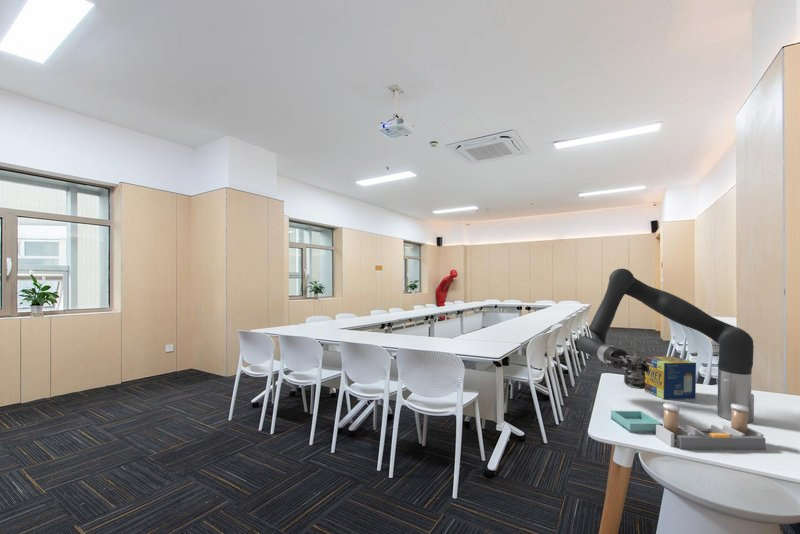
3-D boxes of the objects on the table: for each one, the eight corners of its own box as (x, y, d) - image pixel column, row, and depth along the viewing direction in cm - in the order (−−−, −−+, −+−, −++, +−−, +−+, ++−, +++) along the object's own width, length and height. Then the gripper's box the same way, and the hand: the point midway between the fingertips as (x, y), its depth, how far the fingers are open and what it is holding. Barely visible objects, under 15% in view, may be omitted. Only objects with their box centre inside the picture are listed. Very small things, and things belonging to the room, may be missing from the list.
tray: (640, 419, 134) (640, 410, 134) (662, 432, 123) (662, 423, 123) (610, 418, 134) (610, 410, 134) (629, 432, 123) (630, 423, 123)
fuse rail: (732, 432, 124) (732, 419, 124) (768, 449, 112) (768, 435, 112) (647, 431, 124) (647, 418, 124) (674, 449, 112) (674, 435, 112)
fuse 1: (672, 436, 120) (672, 403, 120) (682, 443, 116) (682, 408, 116) (659, 436, 120) (660, 403, 120) (669, 442, 116) (669, 408, 116)
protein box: (644, 391, 164) (644, 356, 164) (675, 390, 166) (675, 356, 166) (663, 399, 154) (663, 362, 154) (696, 398, 156) (697, 362, 156)
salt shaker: (646, 390, 124) (646, 355, 124) (625, 387, 127) (626, 352, 127) (645, 385, 129) (646, 351, 129) (626, 382, 132) (626, 349, 132)
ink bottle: (640, 381, 178) (641, 357, 178) (651, 387, 169) (651, 361, 169) (619, 381, 179) (620, 356, 179) (629, 387, 170) (629, 361, 170)
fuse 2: (739, 437, 120) (740, 403, 120) (751, 443, 116) (752, 408, 116) (726, 437, 120) (727, 403, 120) (738, 443, 116) (739, 408, 116)
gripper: (594, 346, 142) (621, 357, 125) (630, 346, 142) (662, 358, 125) (594, 365, 142) (620, 379, 125) (630, 365, 143) (662, 379, 125)
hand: (641, 368), depth 125 cm, fingers closed on salt shaker, 3 cm apart
